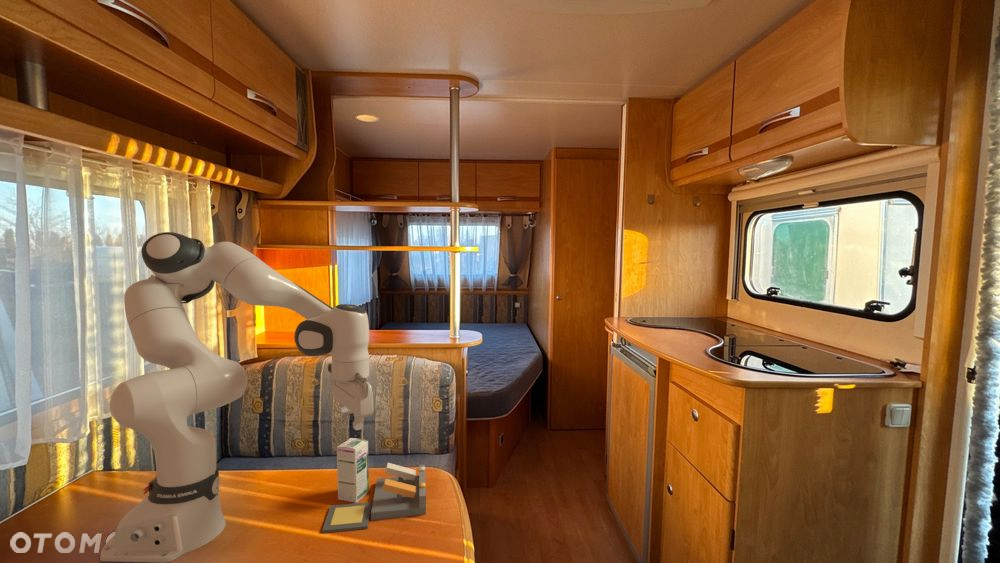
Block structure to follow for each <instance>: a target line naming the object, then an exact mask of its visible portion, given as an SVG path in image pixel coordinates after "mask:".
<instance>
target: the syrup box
mask: <svg viewBox="0 0 1000 563" xmlns="http://www.w3.org/2000/svg"><path fill="white" fill-rule="evenodd" d="M336 463H337V464H336V465H337V466H336V469H337V471H336V472H337V475H336V476H337V499H338V501H344V502H348V503H349V502H350V503H353V504H355V503H358V502H359V501H360V500H362V499H363V498H364V497H365V496H366V495H367V494H368V493H369V492H370V485H369V484H370V481H369V480H370V478H369V472H370V471H369V440H367V439H364V438H356V437H350V438H348V439H347V440H346V441H344V442H342V443H341V444H340V445H338V446H336Z"/></svg>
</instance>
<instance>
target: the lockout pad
mask: <svg viewBox="0 0 1000 563" xmlns="http://www.w3.org/2000/svg"><path fill="white" fill-rule="evenodd" d="M372 504H373V501H371V502H370V501H368V502H359V503H358V502H357V503H348V504H347V503H345V504H334V505H330V506H329V510H328V512H327V515H326V518H325V521H324V523H323V527H322V530H321V533H322V534H326V533H334V532H335V533H337V532H347V531H357V530H367V529H368V527H369V522H370V518H371V510H372Z"/></svg>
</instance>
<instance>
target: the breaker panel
mask: <svg viewBox="0 0 1000 563" xmlns="http://www.w3.org/2000/svg"><path fill="white" fill-rule="evenodd" d="M418 470H419V471H418V475H416V476H415V479H414V481H412V480H409V479H405V478H401V477H398V476H393V477H383V478H380V477H379V478H376V482H375V488H374V495H373V499H372V505H371V511H370V521H371V522H372V521H378V520H387V519H388V520H389V519H397V518H407V517H415V516H421V515H422V516H423V515H427V484H426V464H419V465H418ZM385 479H390V480H393V481H397V482H401V483H405V484H409V485H413V486H416V493H415V496H414V498H411V497H407V496H403V495H399V494H395V493H391V492H387V491H383V484H384V482H385Z"/></svg>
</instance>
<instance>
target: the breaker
mask: <svg viewBox="0 0 1000 563" xmlns="http://www.w3.org/2000/svg"><path fill="white" fill-rule="evenodd" d="M384 473H385V474H387V475H391V476H393V477H401V478H405V479H409V480H412V481H414V479H415V476H417V470H416V469H412V468H409V467H405V466H402V465H398V464H394V463H391V462H387V464H386V467H385V472H384Z"/></svg>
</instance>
